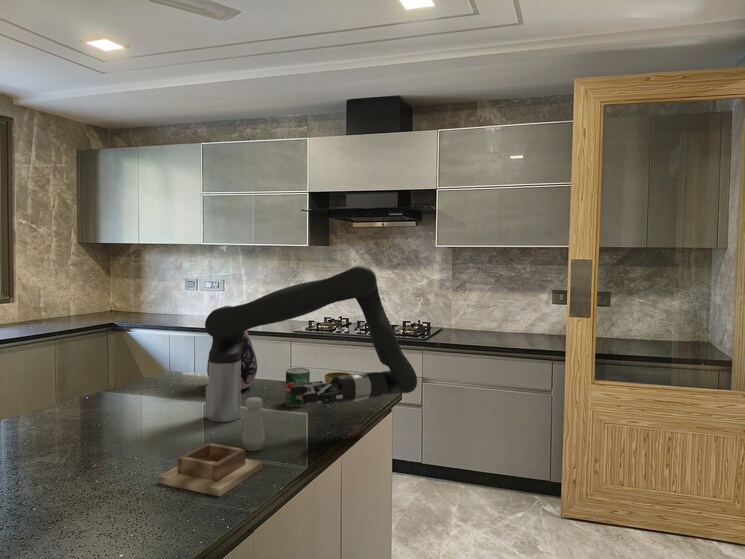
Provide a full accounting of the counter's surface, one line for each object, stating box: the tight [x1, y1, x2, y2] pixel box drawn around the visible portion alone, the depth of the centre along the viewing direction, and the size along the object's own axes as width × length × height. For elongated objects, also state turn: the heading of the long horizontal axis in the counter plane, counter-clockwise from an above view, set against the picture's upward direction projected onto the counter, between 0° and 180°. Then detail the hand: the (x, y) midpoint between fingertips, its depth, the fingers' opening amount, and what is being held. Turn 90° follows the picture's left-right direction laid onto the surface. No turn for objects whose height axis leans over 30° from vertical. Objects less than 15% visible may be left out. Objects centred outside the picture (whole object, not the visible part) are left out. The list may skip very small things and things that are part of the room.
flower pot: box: [323, 371, 351, 384], centre depth 194 cm, size 10×10×7 cm
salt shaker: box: [241, 396, 266, 452], centre depth 141 cm, size 6×6×13 cm
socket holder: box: [157, 442, 264, 497], centre depth 124 cm, size 16×16×5 cm
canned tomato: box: [284, 367, 311, 407], centre depth 183 cm, size 8×8×11 cm
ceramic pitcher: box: [206, 330, 258, 391], centre depth 200 cm, size 18×21×25 cm
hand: (296, 395), depth 146 cm, fingers open, 8 cm apart
